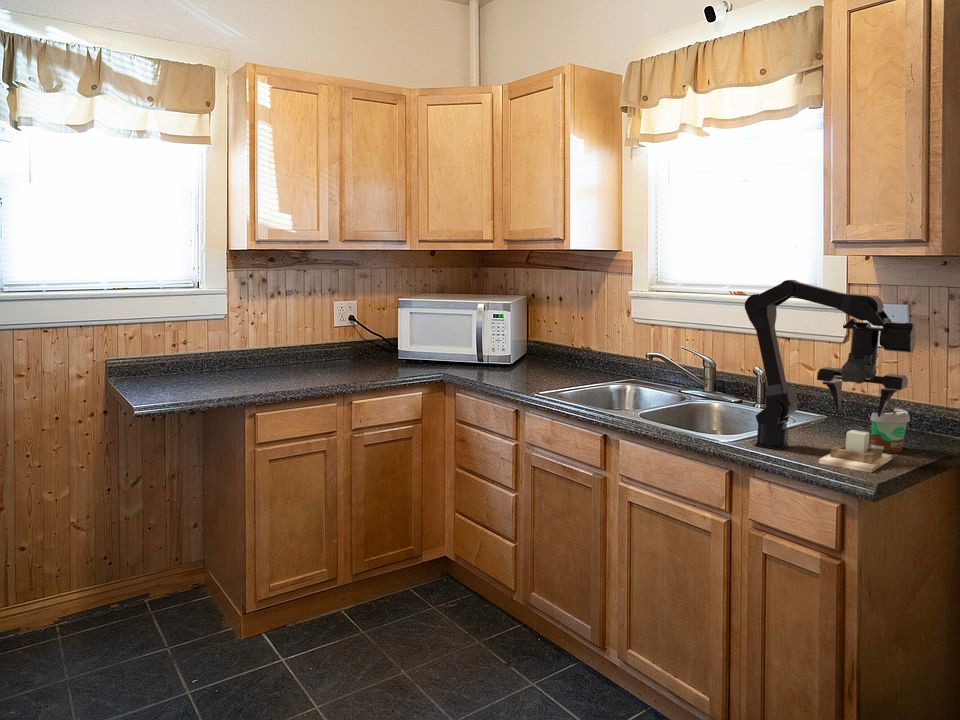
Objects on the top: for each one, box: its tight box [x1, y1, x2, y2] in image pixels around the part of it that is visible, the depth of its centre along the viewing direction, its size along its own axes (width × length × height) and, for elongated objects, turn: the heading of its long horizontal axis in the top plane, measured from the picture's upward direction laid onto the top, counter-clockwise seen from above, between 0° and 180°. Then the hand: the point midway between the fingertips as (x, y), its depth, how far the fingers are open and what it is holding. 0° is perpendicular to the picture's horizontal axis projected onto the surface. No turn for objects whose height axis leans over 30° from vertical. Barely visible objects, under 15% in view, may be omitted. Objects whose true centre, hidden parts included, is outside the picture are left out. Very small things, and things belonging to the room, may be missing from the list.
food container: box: [869, 407, 911, 454], centre depth 197 cm, size 12×6×10 cm, turn 126°
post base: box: [818, 442, 893, 474], centre depth 187 cm, size 12×17×3 cm
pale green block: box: [845, 429, 871, 453], centre depth 186 cm, size 4×4×6 cm
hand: (858, 413), depth 186 cm, fingers open, 9 cm apart
